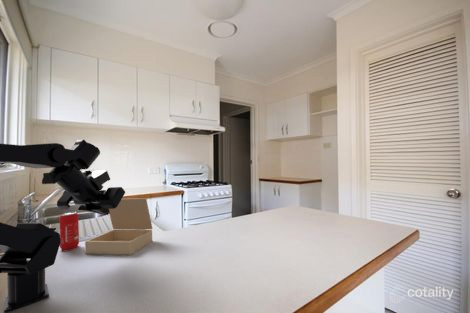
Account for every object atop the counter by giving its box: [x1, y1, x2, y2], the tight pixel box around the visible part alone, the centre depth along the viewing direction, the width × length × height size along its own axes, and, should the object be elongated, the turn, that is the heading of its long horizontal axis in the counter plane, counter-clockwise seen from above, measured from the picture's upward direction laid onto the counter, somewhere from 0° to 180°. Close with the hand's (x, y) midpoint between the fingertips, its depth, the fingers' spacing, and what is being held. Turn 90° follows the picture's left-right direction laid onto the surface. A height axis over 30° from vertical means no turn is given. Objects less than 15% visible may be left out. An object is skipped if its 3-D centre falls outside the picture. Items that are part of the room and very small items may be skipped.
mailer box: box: [84, 229, 153, 256], centre depth 72 cm, size 12×16×4 cm
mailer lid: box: [109, 197, 153, 230], centre depth 77 cm, size 12×16×1 cm
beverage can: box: [58, 211, 80, 252], centre depth 74 cm, size 5×5×12 cm
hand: (107, 213), depth 67 cm, fingers closed
